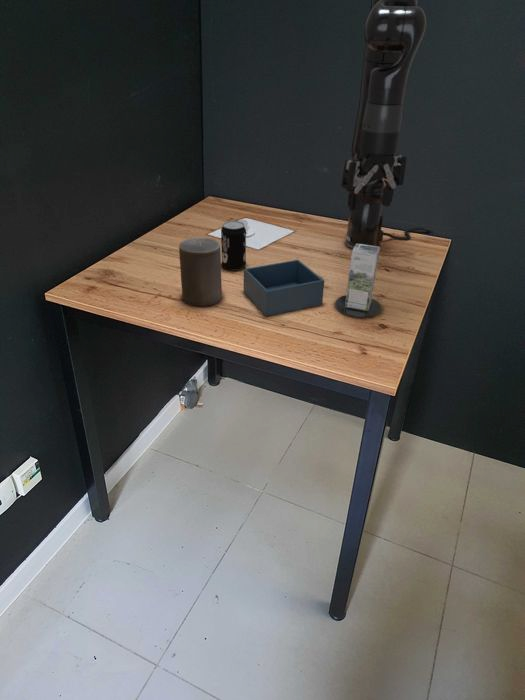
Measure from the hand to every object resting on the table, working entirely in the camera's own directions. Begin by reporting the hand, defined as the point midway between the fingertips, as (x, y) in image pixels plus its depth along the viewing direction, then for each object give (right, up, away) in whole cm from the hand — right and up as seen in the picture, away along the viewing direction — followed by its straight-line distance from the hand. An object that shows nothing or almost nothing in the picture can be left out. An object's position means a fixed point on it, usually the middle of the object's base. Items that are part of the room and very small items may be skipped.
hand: (369, 207), depth 109 cm
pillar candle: (-38, -18, +15) cm, 45 cm away
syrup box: (0, -20, +12) cm, 24 cm away
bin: (-18, -18, +15) cm, 30 cm away
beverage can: (-31, -8, +30) cm, 44 cm away
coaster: (0, -21, +12) cm, 24 cm away
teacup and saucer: (-27, +7, +52) cm, 59 cm away
